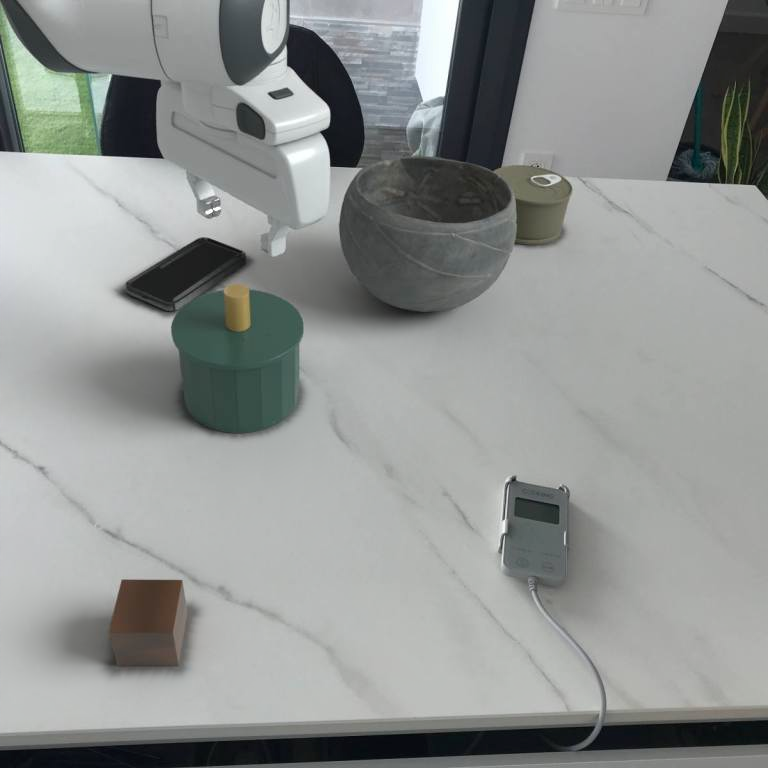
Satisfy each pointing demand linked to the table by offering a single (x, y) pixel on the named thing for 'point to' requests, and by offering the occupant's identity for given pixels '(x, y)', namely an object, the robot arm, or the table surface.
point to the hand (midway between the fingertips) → (240, 233)
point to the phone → (186, 274)
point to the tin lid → (237, 329)
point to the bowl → (427, 231)
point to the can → (537, 202)
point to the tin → (241, 394)
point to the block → (148, 623)
